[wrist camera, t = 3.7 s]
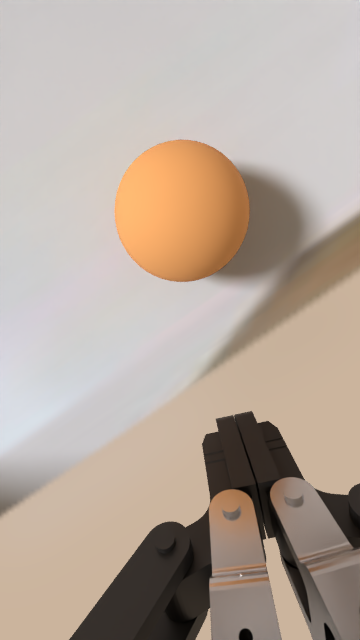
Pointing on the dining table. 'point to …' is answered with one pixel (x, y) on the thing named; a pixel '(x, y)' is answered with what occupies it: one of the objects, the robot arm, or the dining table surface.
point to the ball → (182, 210)
